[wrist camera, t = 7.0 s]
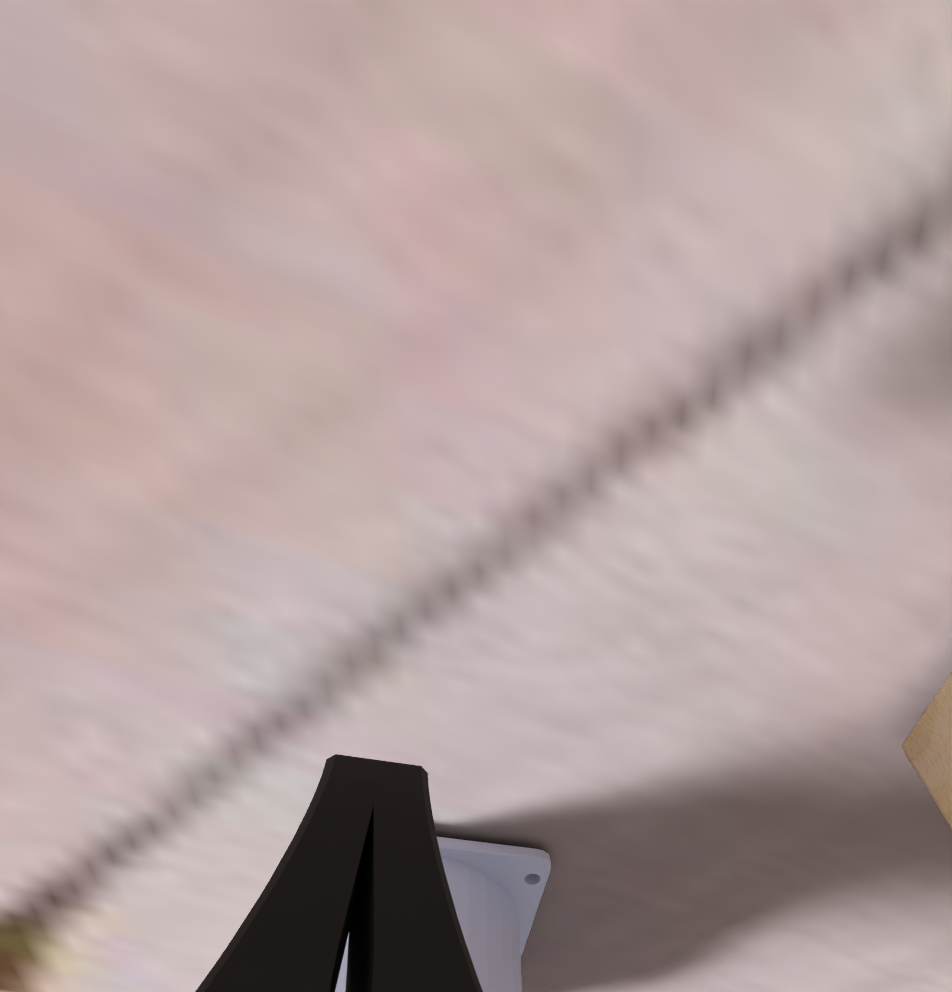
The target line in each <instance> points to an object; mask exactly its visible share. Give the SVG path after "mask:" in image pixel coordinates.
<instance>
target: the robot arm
mask: <svg viewBox="0 0 952 992" xmlns="http://www.w3.org/2000/svg"><path fill="white" fill-rule="evenodd" d="M550 871H551V860H550V856H549V854H548V853H546V852H545V851H543V850H540V849H534V848H526V847H518V846H510V845H502V844H494V843H485V842H477V841H469V840H461V839H453V838H445V837H437V836H436V831H435V826H434V821H433V816H432V810H431V803H430V796H429V787H428V773H427V772H426V771H425V770H424V769H423V768H422V766H416V765H409V764H402V763H394V762H387V761H380V760H373V759H365V758H358V757H351V756H344V755H334V756H332V757H330V758H328V759H327V760H326V764H325V767H324V770H323V774H322V777H321V779H320V782H319V784H318V787H317V790H316V792H315V794H314V797H313V799H312V801H311V803H310V806H309V808H308V810H307V812H306V814H305V816H304V818H303V820H302V822H301V824H300V826H299V828H298V830H297V832H296V834H295V836H294V838H293V840H292V842H291V843H290V845H289V847H288V849H287V850H286V852H285V854H284V856H283V858H282V859H281V861H280V863H279V865H278V866H277V868H276V870H275V872H274V874H273V875H272V877H271V879H270V881H269V882H268V884H267V886H266V887H265V889H264V891H263V892H262V894H261V895H260V897H259V899H258V900H257V902H256V903H255V905H254V906H253V908H252V909H251V911H250V912H249V914H248V916H247V917H246V919H245V920H244V922H243V923H242V925H241V926H240V928H239V930H238V931H237V933H236V934H235V936H234V937H233V939H232V940H231V942H230V943H229V945H228V946H227V948H226V949H225V951H224V952H223V954H222V955H221V957H220V958H219V959H218V961H217V962H216V964H215V965H214V967H213V968H212V969H211V971H210V972H209V974H208V975H207V976H206V978H205V979H204V981H203V982H202V983H201V985H200V986H199V987H198V989H197V990H196V992H522V976H521V956H522V953H523V950H524V947H525V944H526V941H527V938H528V936H529V933H530V930H531V927H532V924H533V921H534V918H535V915H536V912H537V909H538V906H539V903H540V900H541V897H542V894H543V891H544V888H545V885H546V882H547V880H548V877H549V874H550Z"/></svg>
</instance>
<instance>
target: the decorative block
mask: <svg viewBox="0 0 952 992" xmlns="http://www.w3.org/2000/svg"><path fill="white" fill-rule="evenodd" d="M902 747H903V749H904V751H905V754H906V756H907V758H908V759H909V761H910V762H911V764H912V766H913V767H914V769H915V770H916V772H917V774H918V775H919V777H920V779H921V780H922V782H923V783H924V785H925V787H926V788H927V790H928V791H929V793H930V795H931V796H932V798H933V800H934V801H935V803H936V804H937V806H938V808H939V809H940V811H941V812H942V814H943V816H944V817H945V819H946V820H947V822H948V824H949V825H950V827H951V829H952V673H951V674H950V676H949V677H948V679H947V680H946V682H945V683H944V684H943V686H942V687H941V689H940V690H939V692H938V693H937V695H936V696H935V698H934V699H933V701H932V702H931V703H930V705H929V706H928V708H927V709H926V711H925V712H924V714H923V715H922V717H921V718H920V719H919V721H918V722H917V724H916V725H915V727H914V728H913V730H912V731H911V733H910V734H909V735H908V737H907V738H906V740H905V741H904V743H903V744H902Z"/></svg>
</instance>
